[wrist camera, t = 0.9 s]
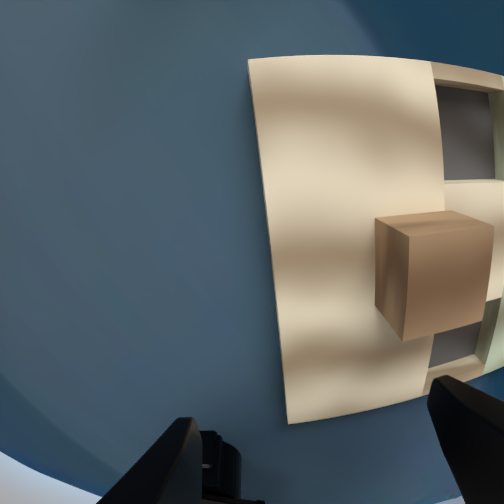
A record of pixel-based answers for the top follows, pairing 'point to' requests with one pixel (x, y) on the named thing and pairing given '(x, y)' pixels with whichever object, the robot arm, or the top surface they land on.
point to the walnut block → (431, 271)
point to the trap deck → (371, 216)
